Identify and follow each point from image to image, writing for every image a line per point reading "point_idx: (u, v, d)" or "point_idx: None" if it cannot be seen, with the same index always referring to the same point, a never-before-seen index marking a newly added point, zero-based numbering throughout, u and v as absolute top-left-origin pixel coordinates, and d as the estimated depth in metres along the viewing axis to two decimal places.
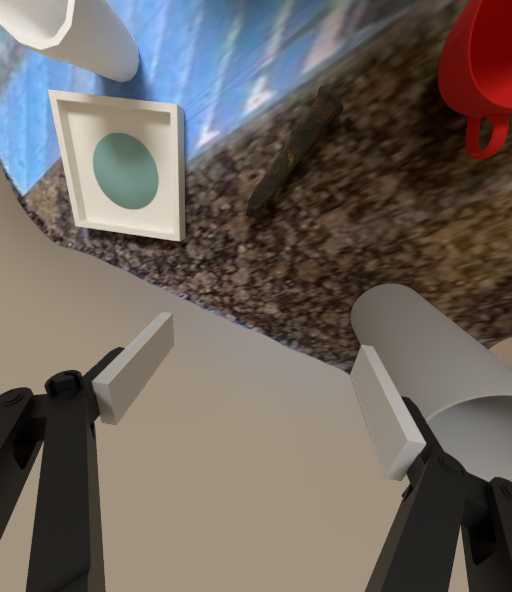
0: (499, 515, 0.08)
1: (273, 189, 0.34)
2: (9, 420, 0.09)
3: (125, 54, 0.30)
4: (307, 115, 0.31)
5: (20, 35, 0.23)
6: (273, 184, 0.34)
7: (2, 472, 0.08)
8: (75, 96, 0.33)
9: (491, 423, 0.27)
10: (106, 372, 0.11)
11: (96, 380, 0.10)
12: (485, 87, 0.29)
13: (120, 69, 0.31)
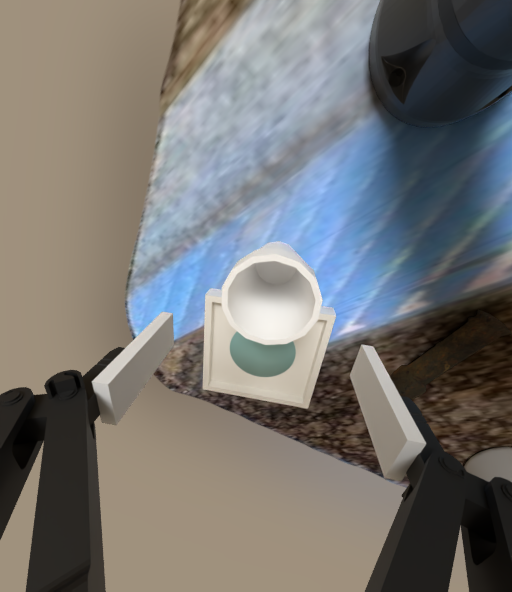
0: (499, 515, 0.08)
1: (425, 390, 0.35)
2: (9, 420, 0.09)
3: None
4: (471, 337, 0.32)
5: (248, 334, 0.24)
6: (425, 385, 0.35)
7: (2, 472, 0.08)
8: None
9: None
10: (106, 372, 0.11)
11: (96, 380, 0.10)
12: None
13: None
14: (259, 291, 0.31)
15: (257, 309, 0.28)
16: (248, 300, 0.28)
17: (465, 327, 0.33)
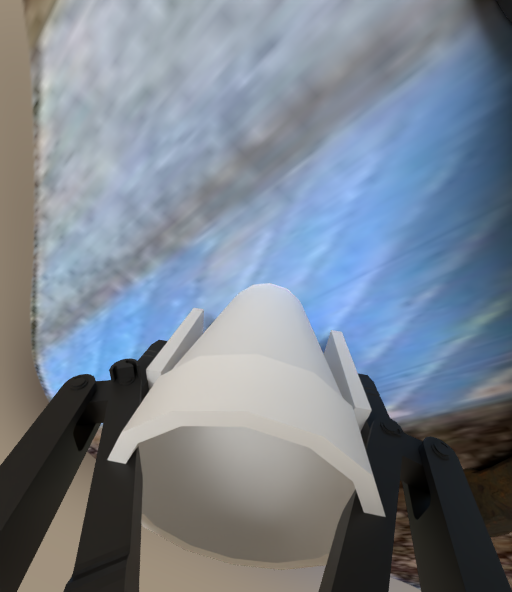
0: (431, 471, 0.09)
1: None
2: (74, 404, 0.09)
3: None
4: None
5: (190, 544, 0.10)
6: None
7: (63, 452, 0.09)
8: None
9: None
10: (156, 361, 0.12)
11: (149, 368, 0.11)
12: None
13: None
14: None
15: (224, 434, 0.14)
16: None
17: None
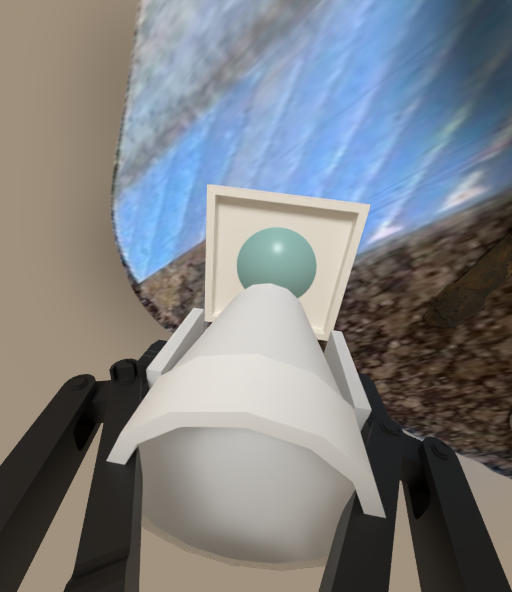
0: (431, 471, 0.09)
1: (483, 304, 0.28)
2: (74, 404, 0.09)
3: None
4: None
5: (190, 545, 0.10)
6: (482, 298, 0.28)
7: (63, 452, 0.09)
8: (240, 192, 0.28)
9: None
10: (156, 361, 0.12)
11: (149, 368, 0.11)
12: None
13: None
14: None
15: (224, 434, 0.14)
16: None
17: None
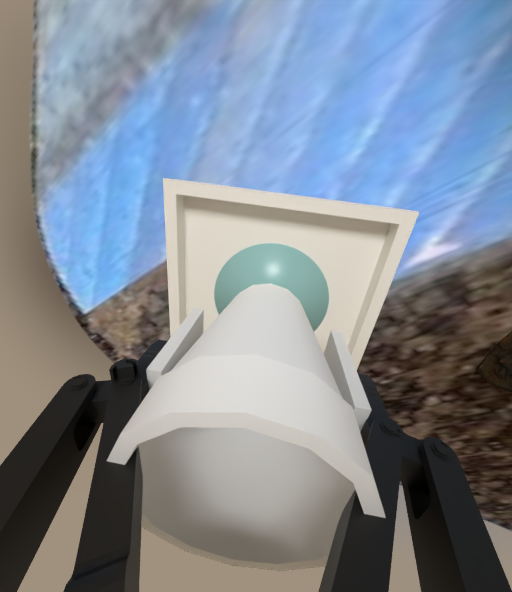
0: (431, 471, 0.09)
1: None
2: (74, 404, 0.09)
3: None
4: None
5: (190, 545, 0.10)
6: None
7: (63, 452, 0.09)
8: (214, 191, 0.18)
9: None
10: (156, 361, 0.12)
11: (149, 368, 0.11)
12: None
13: None
14: None
15: (224, 435, 0.14)
16: None
17: None
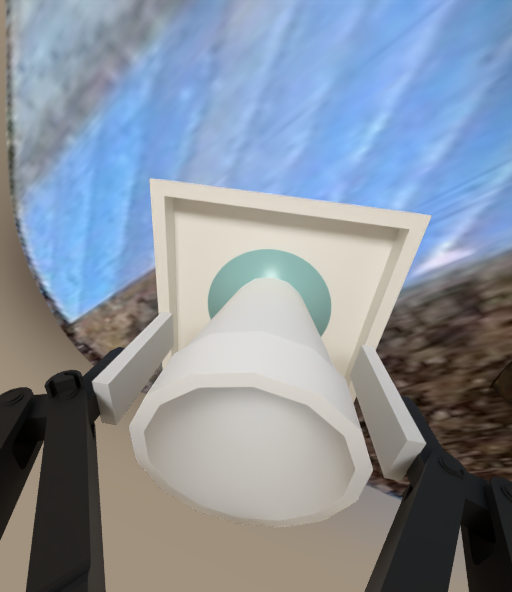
0: (499, 515, 0.08)
1: None
2: (9, 420, 0.09)
3: None
4: None
5: (200, 504, 0.11)
6: None
7: (2, 472, 0.08)
8: (206, 192, 0.16)
9: None
10: (106, 372, 0.11)
11: (96, 380, 0.10)
12: None
13: None
14: None
15: (229, 414, 0.15)
16: (214, 397, 0.15)
17: None
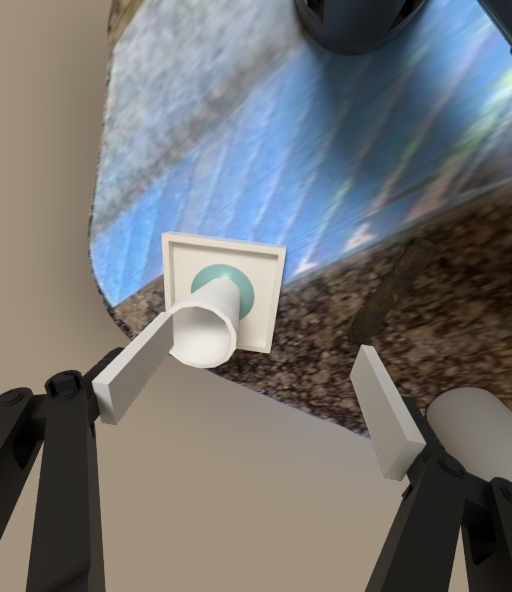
0: (499, 515, 0.08)
1: (381, 324, 0.36)
2: (9, 420, 0.09)
3: None
4: (408, 262, 0.33)
5: (184, 360, 0.30)
6: (380, 319, 0.37)
7: (2, 472, 0.08)
8: (187, 239, 0.36)
9: None
10: (106, 372, 0.11)
11: (96, 380, 0.10)
12: None
13: None
14: (205, 320, 0.38)
15: (198, 337, 0.34)
16: (191, 330, 0.34)
17: (404, 256, 0.35)
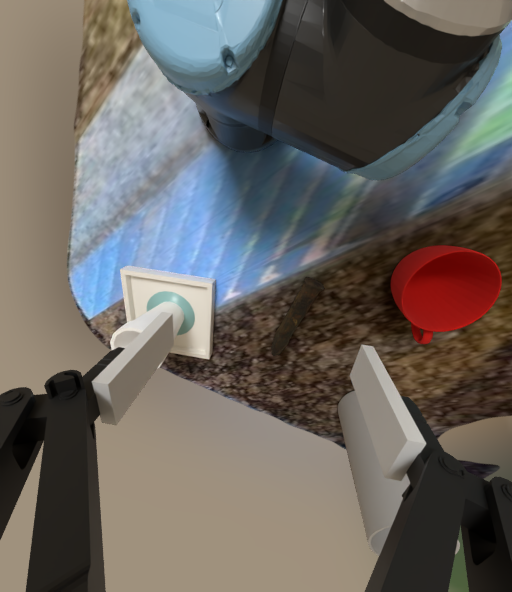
0: (499, 515, 0.08)
1: (288, 341, 0.48)
2: (9, 420, 0.09)
3: None
4: (300, 297, 0.45)
5: None
6: (287, 338, 0.48)
7: (2, 472, 0.08)
8: (139, 274, 0.47)
9: None
10: (106, 372, 0.11)
11: (96, 380, 0.10)
12: (425, 284, 0.43)
13: None
14: None
15: None
16: None
17: (300, 291, 0.46)
